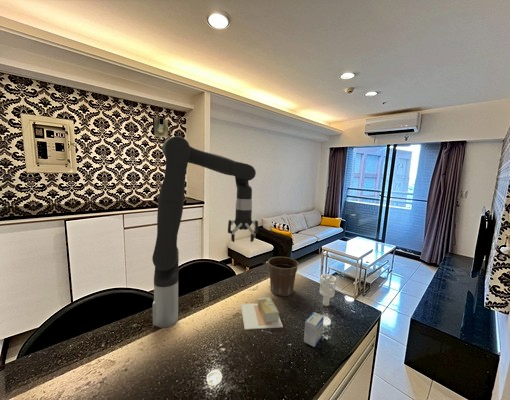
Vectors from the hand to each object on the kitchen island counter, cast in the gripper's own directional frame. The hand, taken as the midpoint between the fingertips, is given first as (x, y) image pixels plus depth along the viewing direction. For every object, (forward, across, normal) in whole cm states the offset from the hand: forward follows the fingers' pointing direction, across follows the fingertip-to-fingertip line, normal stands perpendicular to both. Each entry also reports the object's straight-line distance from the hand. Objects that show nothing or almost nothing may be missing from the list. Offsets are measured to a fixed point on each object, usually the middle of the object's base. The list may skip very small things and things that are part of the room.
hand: (242, 241), depth 108 cm
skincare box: (+28, +10, -5) cm, 30 cm away
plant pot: (+30, +23, +8) cm, 39 cm away
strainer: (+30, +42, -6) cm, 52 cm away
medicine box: (+30, +26, -28) cm, 49 cm away
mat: (+30, +8, -12) cm, 33 cm away
